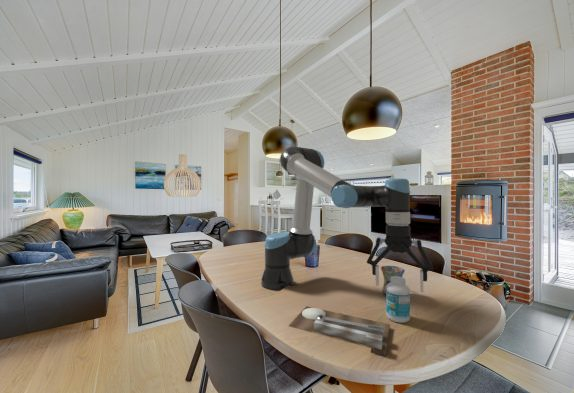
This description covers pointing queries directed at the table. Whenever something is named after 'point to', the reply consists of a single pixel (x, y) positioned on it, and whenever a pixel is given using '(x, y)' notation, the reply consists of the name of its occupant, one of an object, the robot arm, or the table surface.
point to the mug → (390, 274)
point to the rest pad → (312, 313)
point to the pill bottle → (398, 300)
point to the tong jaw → (353, 325)
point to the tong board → (329, 314)
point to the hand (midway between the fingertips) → (398, 287)
